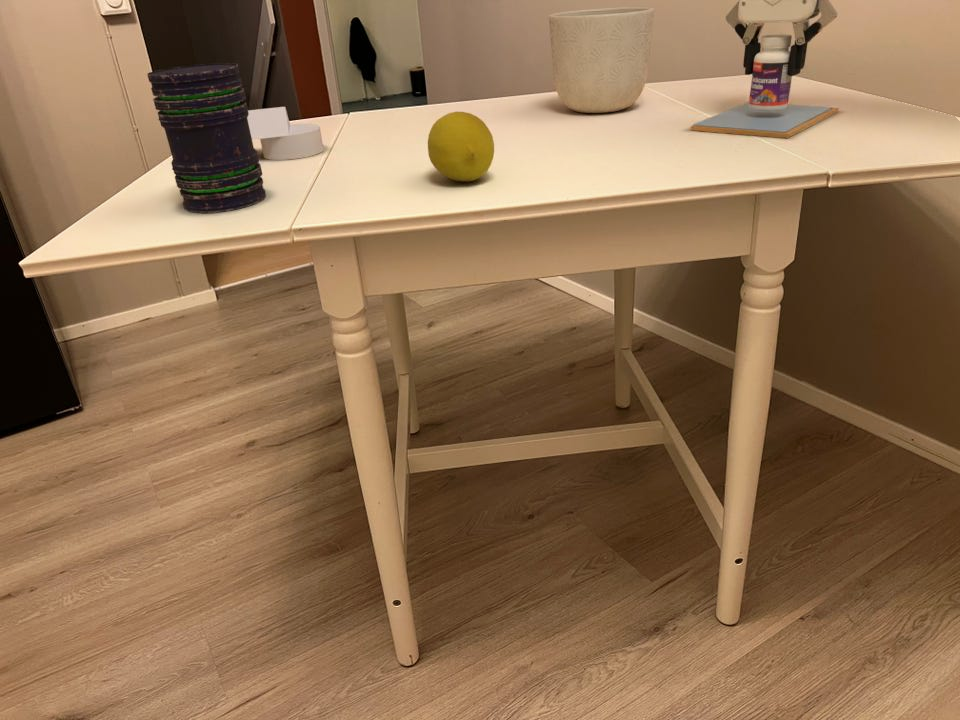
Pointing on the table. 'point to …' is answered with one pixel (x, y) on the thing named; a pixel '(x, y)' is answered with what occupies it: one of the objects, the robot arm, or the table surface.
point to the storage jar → (208, 136)
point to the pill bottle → (771, 74)
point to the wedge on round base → (283, 135)
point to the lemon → (460, 146)
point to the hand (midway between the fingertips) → (772, 72)
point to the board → (765, 120)
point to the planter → (601, 57)
